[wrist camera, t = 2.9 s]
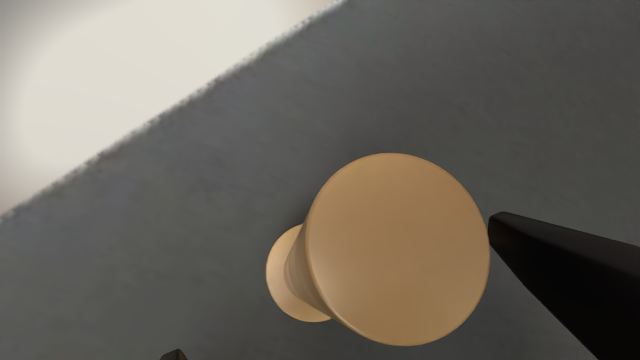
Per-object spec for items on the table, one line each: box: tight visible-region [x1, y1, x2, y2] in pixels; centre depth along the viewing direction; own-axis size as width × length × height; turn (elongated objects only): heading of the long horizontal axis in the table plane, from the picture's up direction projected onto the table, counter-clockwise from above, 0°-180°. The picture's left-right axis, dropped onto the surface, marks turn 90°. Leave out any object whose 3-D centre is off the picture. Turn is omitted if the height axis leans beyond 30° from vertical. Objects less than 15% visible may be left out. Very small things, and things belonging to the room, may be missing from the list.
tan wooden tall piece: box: [266, 153, 490, 346], centre depth 11 cm, size 4×4×13 cm
